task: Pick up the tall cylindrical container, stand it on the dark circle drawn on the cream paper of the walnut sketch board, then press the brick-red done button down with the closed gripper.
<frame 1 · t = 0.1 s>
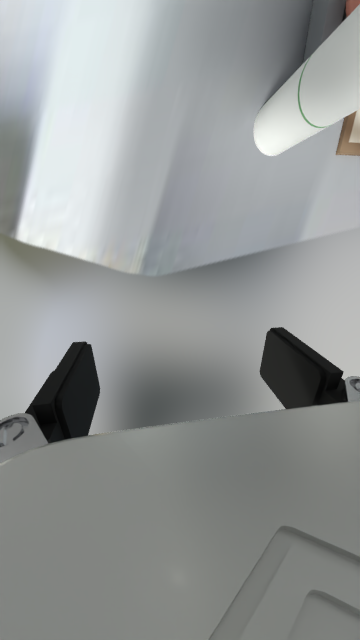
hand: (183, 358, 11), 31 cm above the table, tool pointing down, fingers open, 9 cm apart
button housing: (333, 32, 30), on the table
cylindrical container: (274, 129, 34), on the table
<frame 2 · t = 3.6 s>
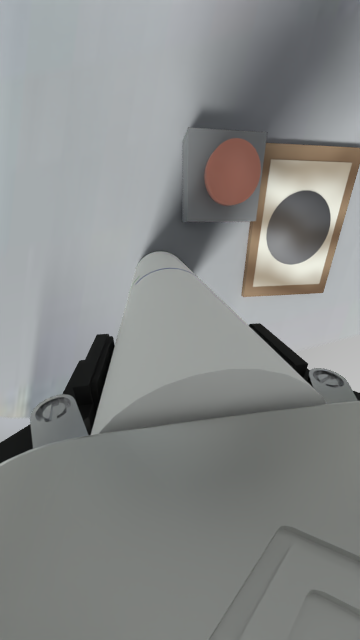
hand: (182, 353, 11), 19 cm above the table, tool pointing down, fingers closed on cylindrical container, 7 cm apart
button housing: (215, 185, 25), on the table
done button: (227, 177, 21), point 4 cm above the table, slide at 0.0 cm
sketch board: (294, 229, 28), on the table
cylindrical container: (160, 278, 29), on the table, touching gripper
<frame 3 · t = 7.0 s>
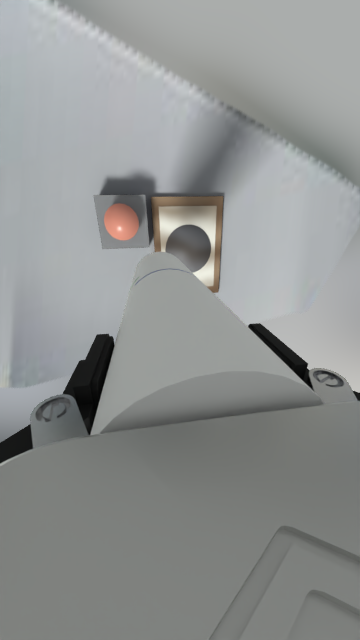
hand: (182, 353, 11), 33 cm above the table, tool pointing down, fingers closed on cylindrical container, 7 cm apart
button housing: (125, 223, 38), on the table
done button: (122, 222, 34), point 4 cm above the table, slide at 0.0 cm
sketch board: (187, 249, 41), on the table
cylindrical container: (160, 278, 29), point 14 cm above the table, touching gripper
when the fingers open (21 cm above the table, at t = 10.5 s): cylindrical container stays where it is, resting on sketch board.
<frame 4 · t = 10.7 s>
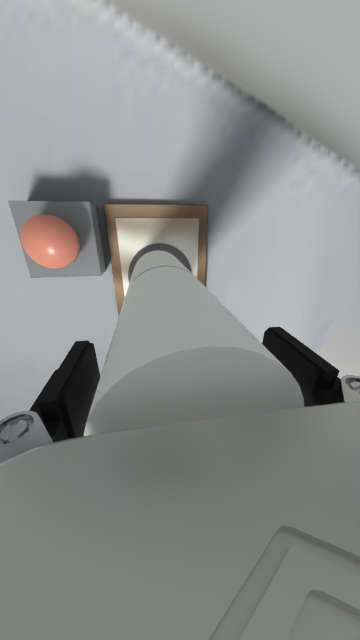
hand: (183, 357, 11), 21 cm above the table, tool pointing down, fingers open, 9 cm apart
button housing: (69, 239, 27), on the table
done button: (56, 241, 23), point 4 cm above the table, slide at 0.0 cm
sketch board: (160, 275, 30), on the table
cylindrical container: (158, 276, 29), point 1 cm above the table, touching sketch board
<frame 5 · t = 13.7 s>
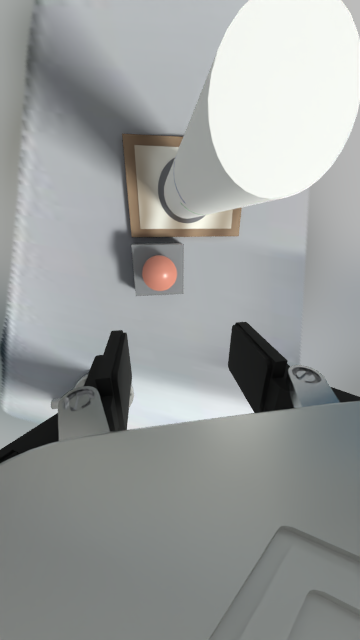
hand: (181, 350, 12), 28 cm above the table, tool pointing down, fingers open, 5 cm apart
button housing: (157, 267, 37), on the table
done button: (159, 271, 33), point 4 cm above the table, slide at 0.0 cm
sketch board: (186, 191, 33), on the table
cylindrical container: (186, 192, 32), point 1 cm above the table, touching sketch board
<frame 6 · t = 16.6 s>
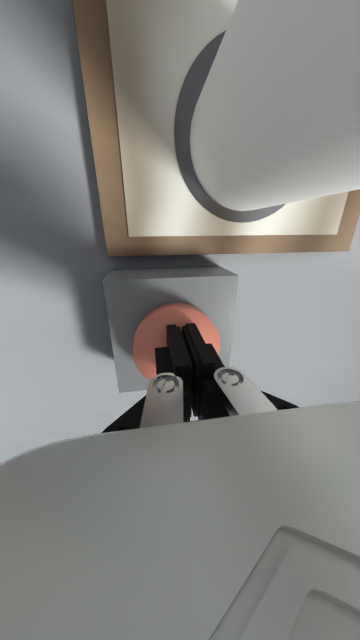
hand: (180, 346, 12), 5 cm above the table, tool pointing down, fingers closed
button housing: (168, 318, 17), on the table
done button: (173, 336, 14), point 3 cm above the table, slide at -0.9 cm, touching gripper
sketch board: (243, 143, 13), on the table
cylindrical container: (247, 144, 12), point 1 cm above the table, touching sketch board
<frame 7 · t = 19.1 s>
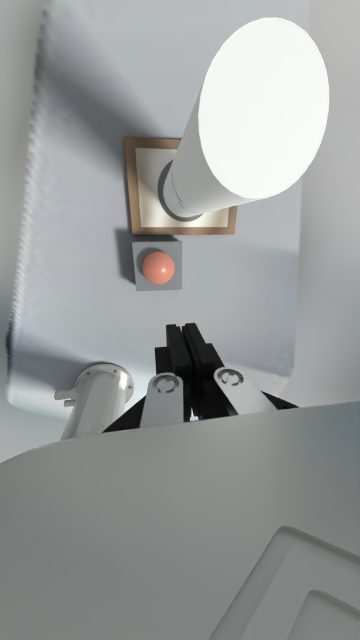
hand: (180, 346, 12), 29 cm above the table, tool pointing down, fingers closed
button housing: (157, 263, 38), on the table
done button: (158, 266, 36), point 3 cm above the table, slide at -1.3 cm, touching button housing
sketch board: (184, 191, 34), on the table
cylindrical container: (185, 193, 34), point 1 cm above the table, touching sketch board
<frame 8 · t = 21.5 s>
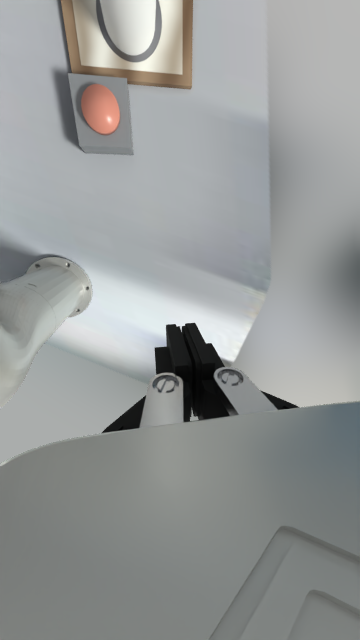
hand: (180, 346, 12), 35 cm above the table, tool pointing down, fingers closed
button housing: (106, 123, 34), on the table
done button: (102, 115, 31), point 3 cm above the table, slide at -1.3 cm, touching button housing
sketch board: (130, 22, 30), on the table
cylindrical container: (129, 20, 29), point 1 cm above the table, touching sketch board
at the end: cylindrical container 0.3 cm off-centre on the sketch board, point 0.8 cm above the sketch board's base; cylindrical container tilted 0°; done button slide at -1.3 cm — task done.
